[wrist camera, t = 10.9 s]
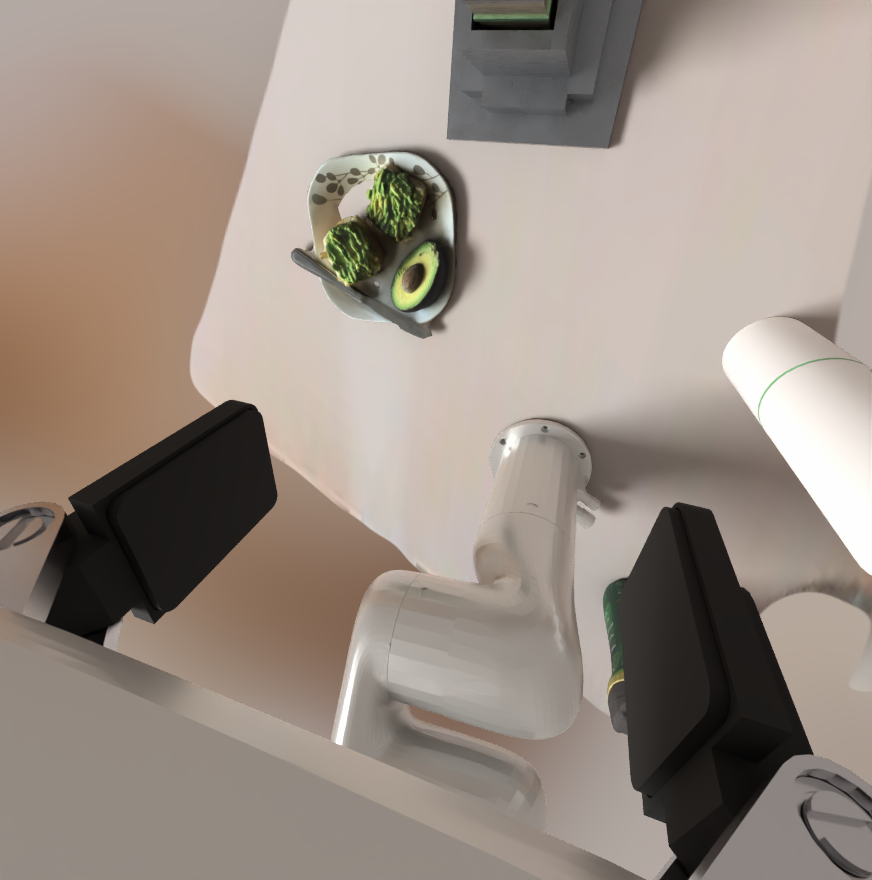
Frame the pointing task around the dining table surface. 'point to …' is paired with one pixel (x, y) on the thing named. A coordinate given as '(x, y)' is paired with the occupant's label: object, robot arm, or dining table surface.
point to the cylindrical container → (812, 417)
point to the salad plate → (384, 239)
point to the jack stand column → (514, 14)
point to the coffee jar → (615, 657)
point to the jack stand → (542, 76)
